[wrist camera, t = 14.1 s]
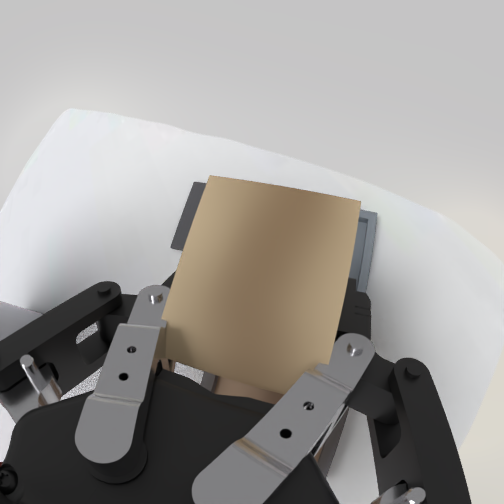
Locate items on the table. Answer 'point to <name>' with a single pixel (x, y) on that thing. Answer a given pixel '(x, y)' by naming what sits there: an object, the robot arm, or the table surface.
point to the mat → (188, 216)
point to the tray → (363, 249)
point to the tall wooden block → (261, 282)
